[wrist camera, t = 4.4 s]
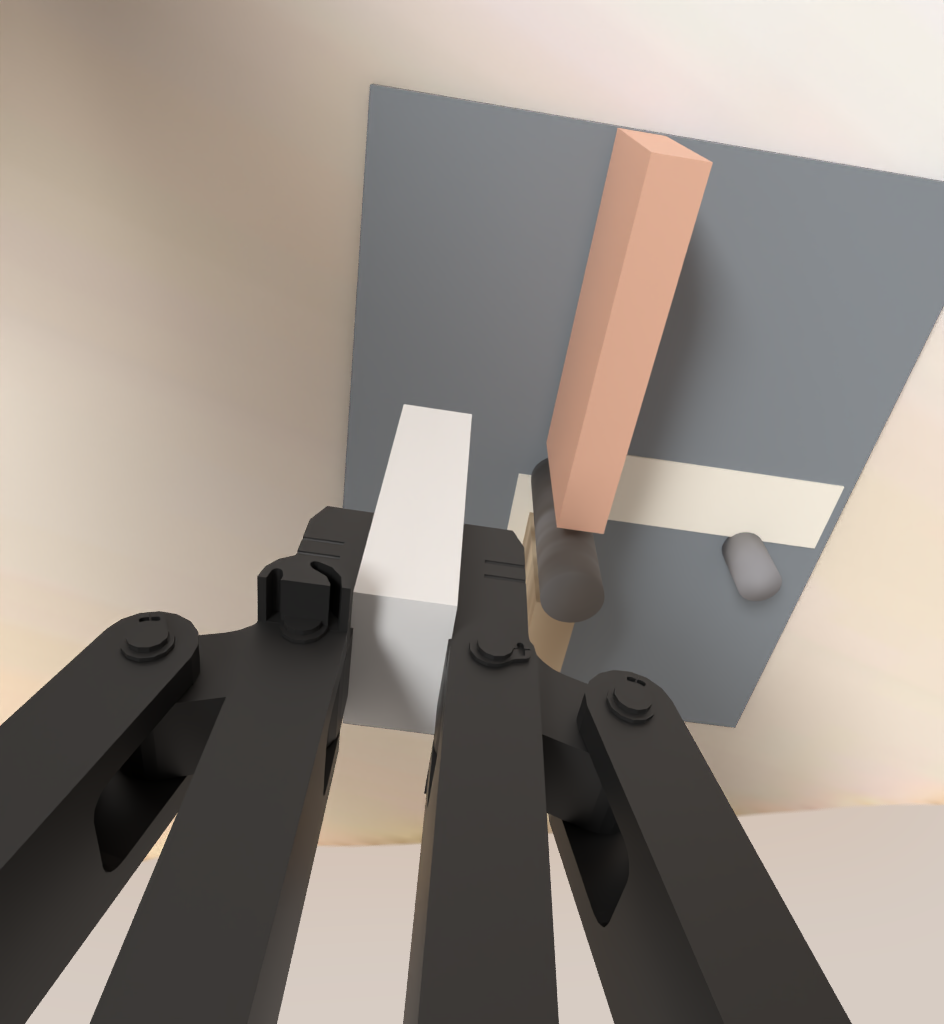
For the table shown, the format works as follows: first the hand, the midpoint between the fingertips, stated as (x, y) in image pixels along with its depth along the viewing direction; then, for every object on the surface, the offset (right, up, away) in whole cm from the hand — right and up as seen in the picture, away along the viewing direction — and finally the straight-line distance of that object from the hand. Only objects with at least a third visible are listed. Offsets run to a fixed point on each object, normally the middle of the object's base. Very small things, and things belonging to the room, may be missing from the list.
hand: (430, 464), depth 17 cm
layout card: (+7, +1, +19) cm, 21 cm away
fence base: (+4, -5, +22) cm, 23 cm away
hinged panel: (+6, +7, +14) cm, 17 cm away
